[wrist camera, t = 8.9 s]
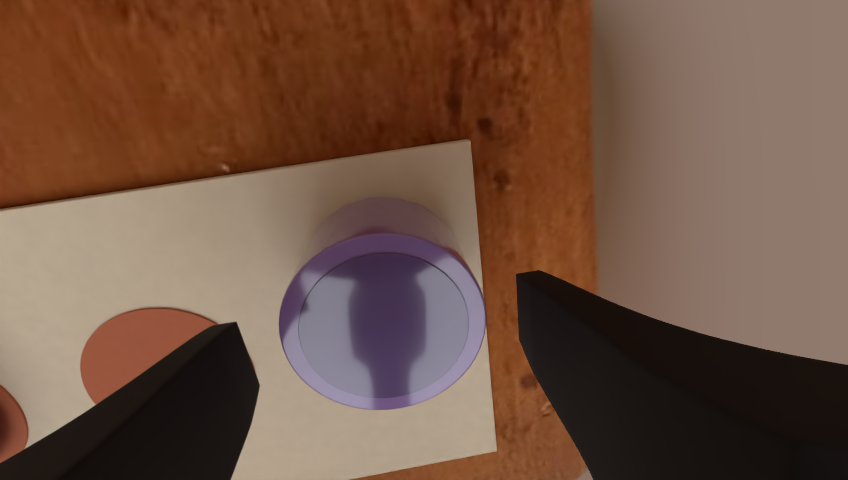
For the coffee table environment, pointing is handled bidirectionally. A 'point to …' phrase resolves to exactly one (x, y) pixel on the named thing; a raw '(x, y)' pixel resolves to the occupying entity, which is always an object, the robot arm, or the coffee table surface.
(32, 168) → the coffee table surface
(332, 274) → the purple cup
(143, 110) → the coffee table surface
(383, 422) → the mat
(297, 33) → the coffee table surface
